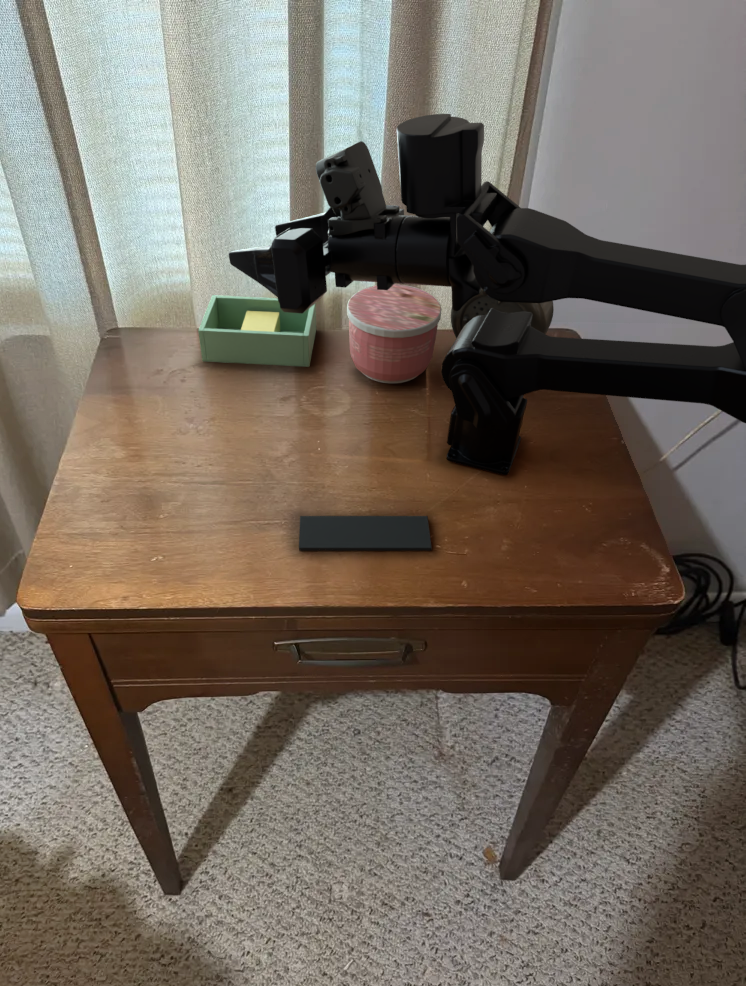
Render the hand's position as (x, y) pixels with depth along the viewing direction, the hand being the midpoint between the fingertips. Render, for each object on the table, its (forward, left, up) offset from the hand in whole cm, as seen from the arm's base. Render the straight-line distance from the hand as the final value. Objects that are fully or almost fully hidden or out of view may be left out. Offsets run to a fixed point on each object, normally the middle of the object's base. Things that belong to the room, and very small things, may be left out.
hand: (254, 243), depth 73 cm
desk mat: (-18, +17, -17) cm, 30 cm away
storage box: (+5, -8, -17) cm, 20 cm away
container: (-11, -10, -18) cm, 23 cm away
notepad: (+5, -8, -17) cm, 19 cm away
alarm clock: (-22, -15, -18) cm, 32 cm away
